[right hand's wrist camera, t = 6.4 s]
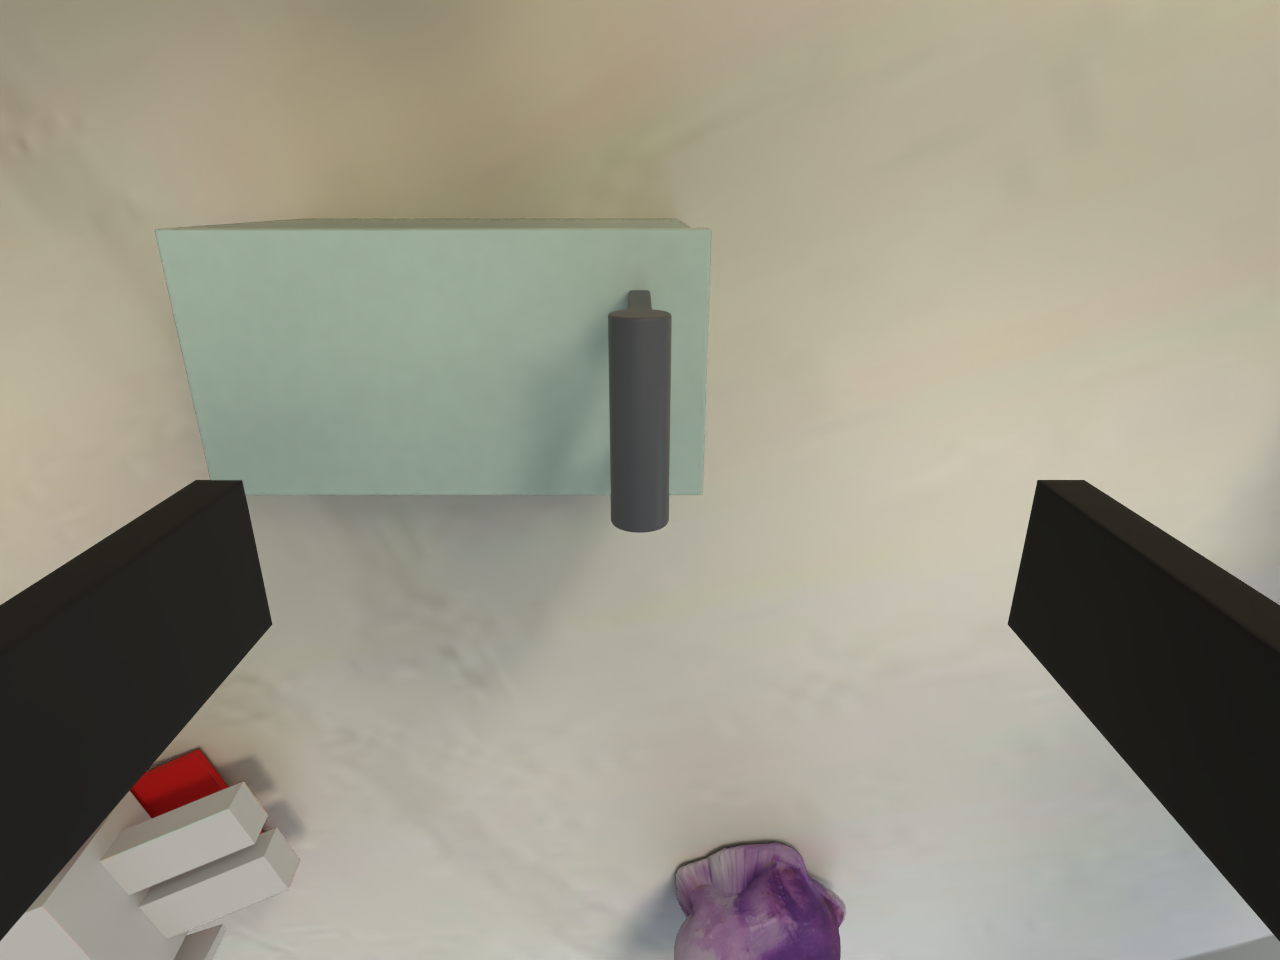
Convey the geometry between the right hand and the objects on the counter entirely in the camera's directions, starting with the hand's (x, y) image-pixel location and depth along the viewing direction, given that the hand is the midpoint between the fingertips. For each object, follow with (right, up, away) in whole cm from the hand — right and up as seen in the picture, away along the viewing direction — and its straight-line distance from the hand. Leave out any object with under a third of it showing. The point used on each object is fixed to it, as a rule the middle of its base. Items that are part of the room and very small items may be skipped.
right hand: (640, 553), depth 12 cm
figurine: (+7, -26, +36) cm, 45 cm away
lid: (-7, +5, +14) cm, 16 cm away
